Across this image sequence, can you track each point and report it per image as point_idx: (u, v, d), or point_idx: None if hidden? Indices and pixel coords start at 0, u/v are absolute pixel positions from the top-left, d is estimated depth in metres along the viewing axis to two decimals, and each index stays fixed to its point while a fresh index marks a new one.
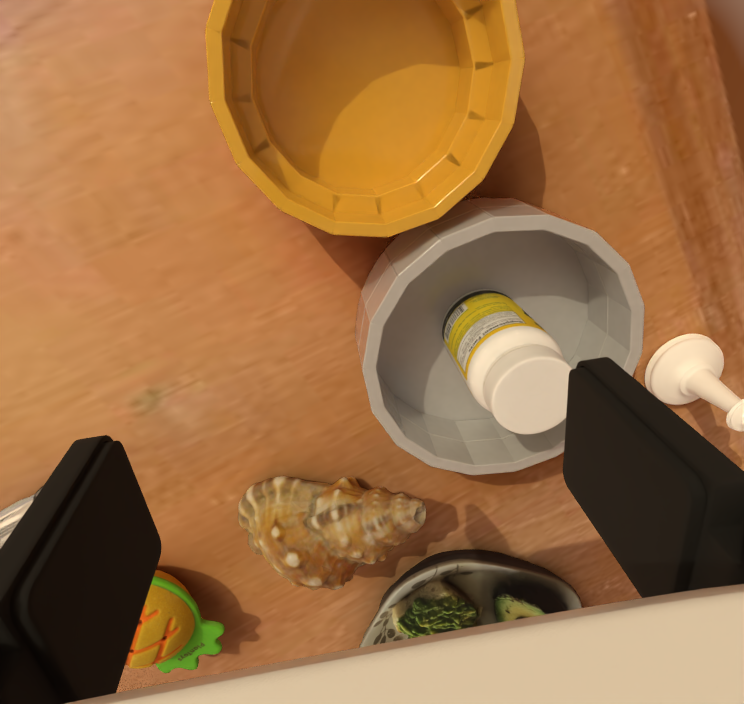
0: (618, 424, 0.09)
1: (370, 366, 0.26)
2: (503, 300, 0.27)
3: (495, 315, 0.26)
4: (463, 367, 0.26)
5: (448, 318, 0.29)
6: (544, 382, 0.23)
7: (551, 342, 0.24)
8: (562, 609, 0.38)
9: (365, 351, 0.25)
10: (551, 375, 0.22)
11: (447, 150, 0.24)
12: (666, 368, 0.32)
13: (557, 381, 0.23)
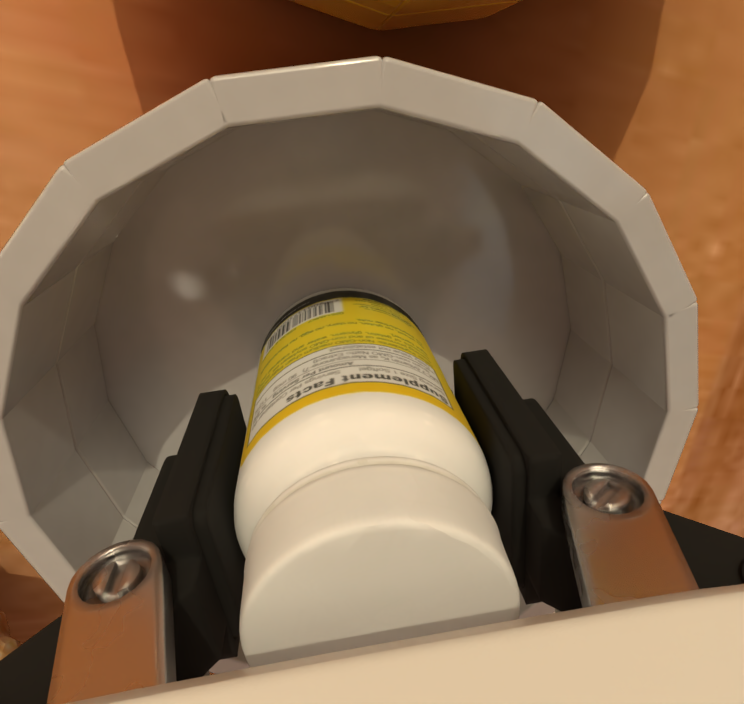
0: (478, 409, 0.10)
1: (3, 291, 0.08)
2: (419, 338, 0.12)
3: (394, 354, 0.10)
4: (253, 430, 0.09)
5: (294, 311, 0.13)
6: (430, 605, 0.07)
7: (487, 488, 0.09)
8: None
9: (10, 241, 0.08)
10: (462, 596, 0.07)
11: None
12: None
13: (465, 617, 0.07)
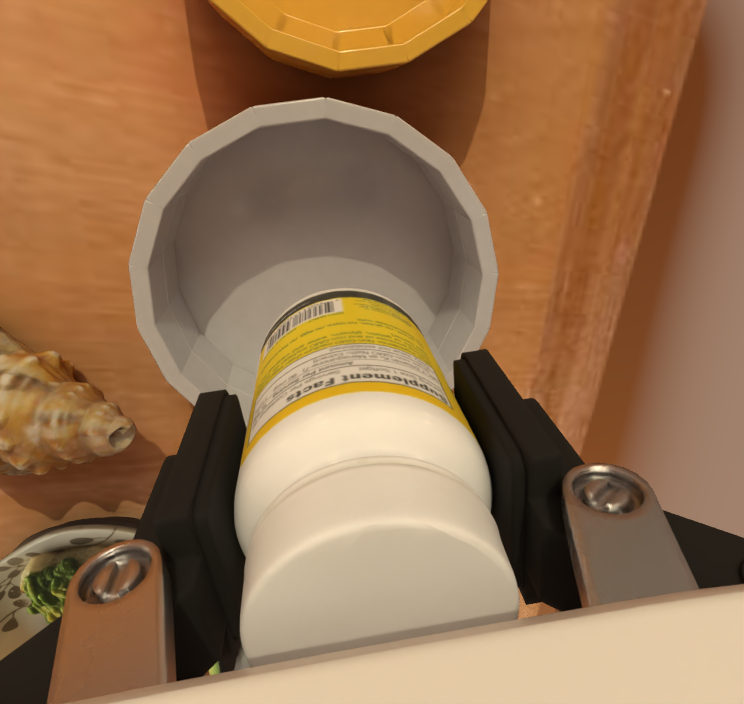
0: (478, 409, 0.10)
1: (156, 202, 0.18)
2: (419, 338, 0.12)
3: (394, 354, 0.10)
4: (253, 429, 0.09)
5: (294, 311, 0.13)
6: (430, 603, 0.07)
7: (486, 487, 0.09)
8: None
9: (161, 178, 0.18)
10: (462, 595, 0.07)
11: (388, 25, 0.19)
12: None
13: (464, 616, 0.07)
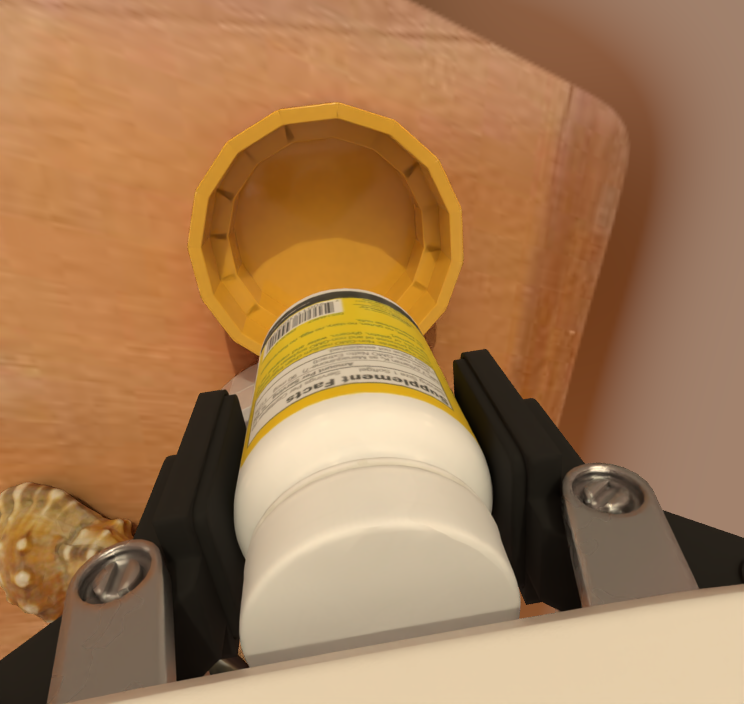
0: (478, 409, 0.10)
1: None
2: (419, 338, 0.12)
3: (394, 355, 0.10)
4: (252, 430, 0.09)
5: (294, 311, 0.13)
6: (430, 606, 0.07)
7: (487, 489, 0.09)
8: None
9: None
10: (462, 596, 0.07)
11: None
12: None
13: (465, 618, 0.07)
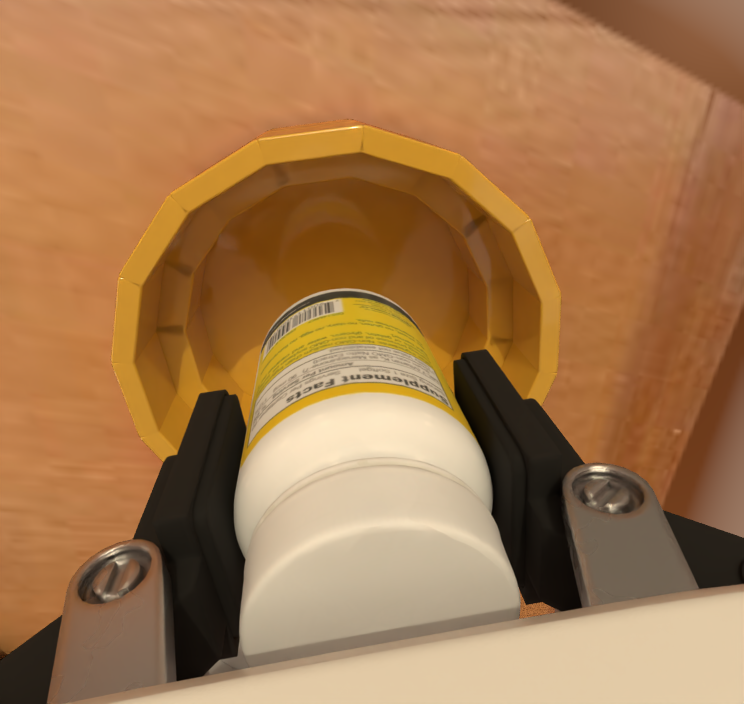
0: (478, 409, 0.10)
1: None
2: (419, 338, 0.12)
3: (394, 355, 0.10)
4: (253, 430, 0.09)
5: (294, 311, 0.13)
6: (430, 606, 0.07)
7: (487, 489, 0.09)
8: None
9: None
10: (463, 597, 0.07)
11: None
12: None
13: (465, 618, 0.07)
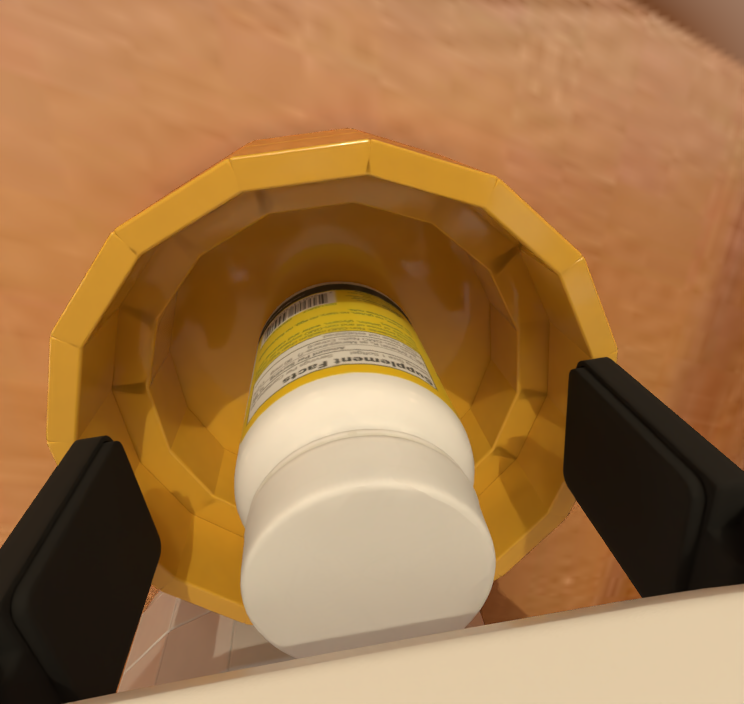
0: (618, 424, 0.09)
1: None
2: (408, 327, 0.13)
3: (383, 340, 0.11)
4: (251, 410, 0.10)
5: (290, 303, 0.14)
6: (413, 561, 0.08)
7: (468, 462, 0.10)
8: None
9: None
10: (443, 553, 0.08)
11: None
12: None
13: (445, 573, 0.08)
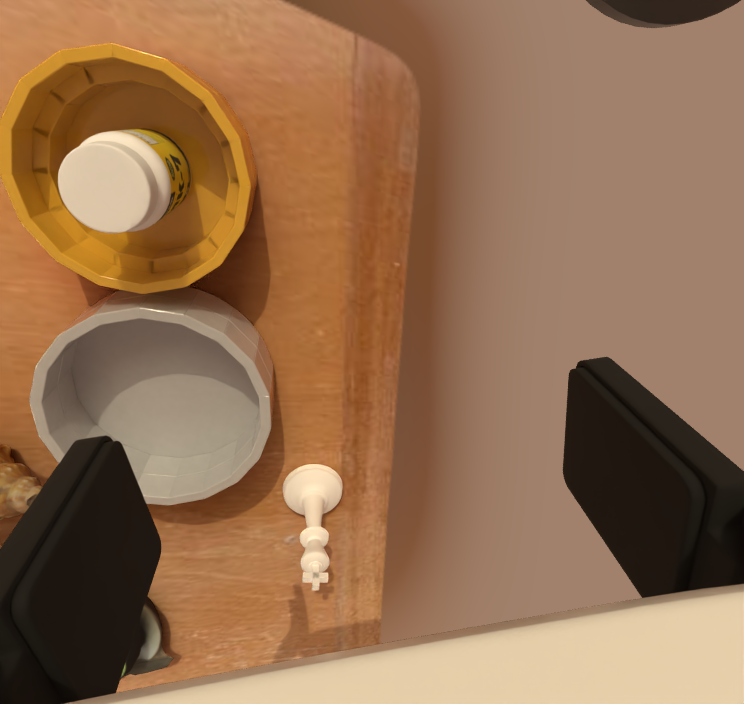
0: (618, 424, 0.09)
1: (42, 367, 0.31)
2: (166, 142, 0.29)
3: (136, 132, 0.26)
4: None
5: None
6: (116, 179, 0.23)
7: (159, 169, 0.25)
8: (137, 635, 0.44)
9: (44, 354, 0.31)
10: (126, 176, 0.23)
11: (185, 252, 0.31)
12: (297, 482, 0.41)
13: (129, 185, 0.24)
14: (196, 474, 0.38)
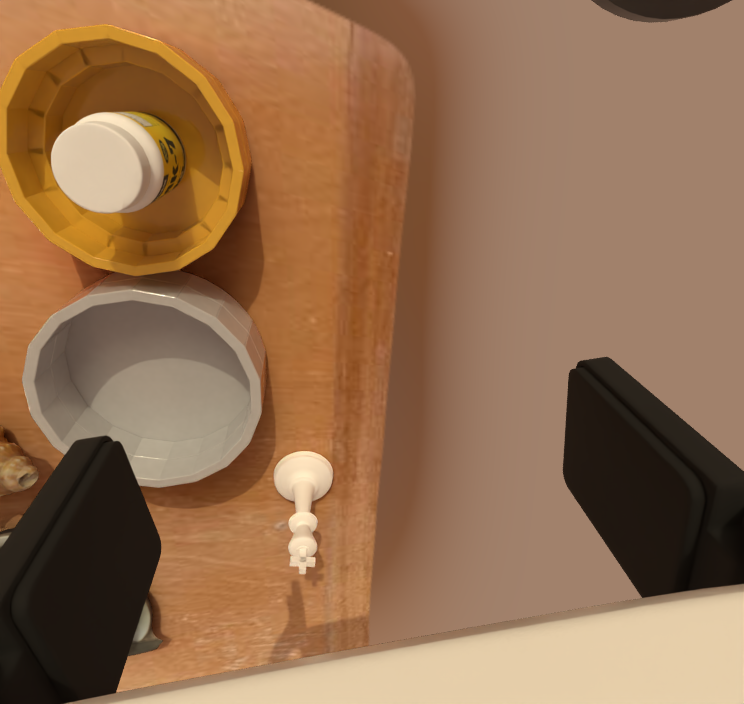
0: (618, 424, 0.09)
1: (35, 346, 0.31)
2: (161, 125, 0.29)
3: (131, 114, 0.27)
4: None
5: None
6: (109, 159, 0.24)
7: (152, 150, 0.25)
8: None
9: (37, 334, 0.31)
10: (118, 156, 0.24)
11: (179, 236, 0.32)
12: (288, 468, 0.42)
13: (122, 166, 0.24)
14: (187, 458, 0.38)
